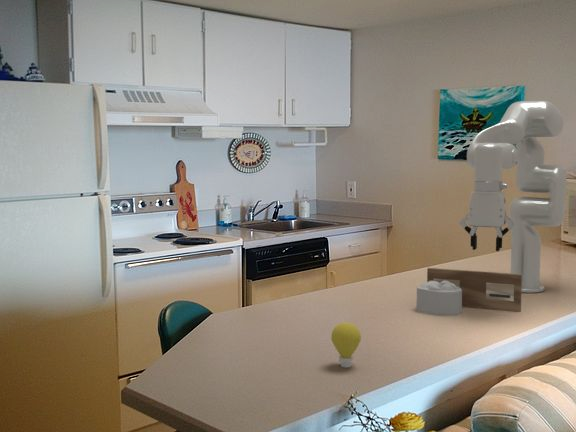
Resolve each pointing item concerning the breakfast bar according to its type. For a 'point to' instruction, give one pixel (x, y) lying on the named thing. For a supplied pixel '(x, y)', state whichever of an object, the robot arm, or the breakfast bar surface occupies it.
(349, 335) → the light bulb
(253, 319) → the breakfast bar surface
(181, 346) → the breakfast bar surface
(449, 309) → the lumpy-topped squat cylinder
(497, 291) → the wooden panel
